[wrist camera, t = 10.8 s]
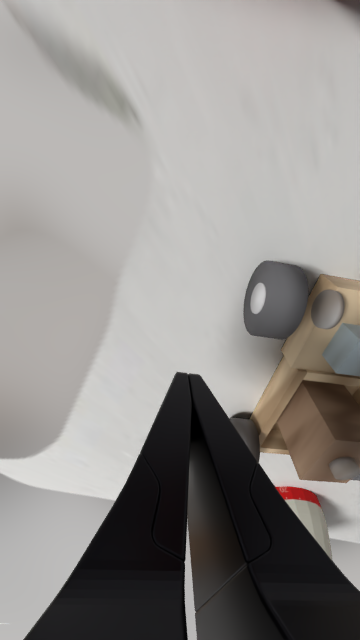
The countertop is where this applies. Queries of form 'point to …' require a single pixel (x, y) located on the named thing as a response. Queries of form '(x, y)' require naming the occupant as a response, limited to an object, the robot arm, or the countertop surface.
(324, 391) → the block
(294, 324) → the wheel
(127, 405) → the countertop surface
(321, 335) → the chassis
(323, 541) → the kitchen timer
